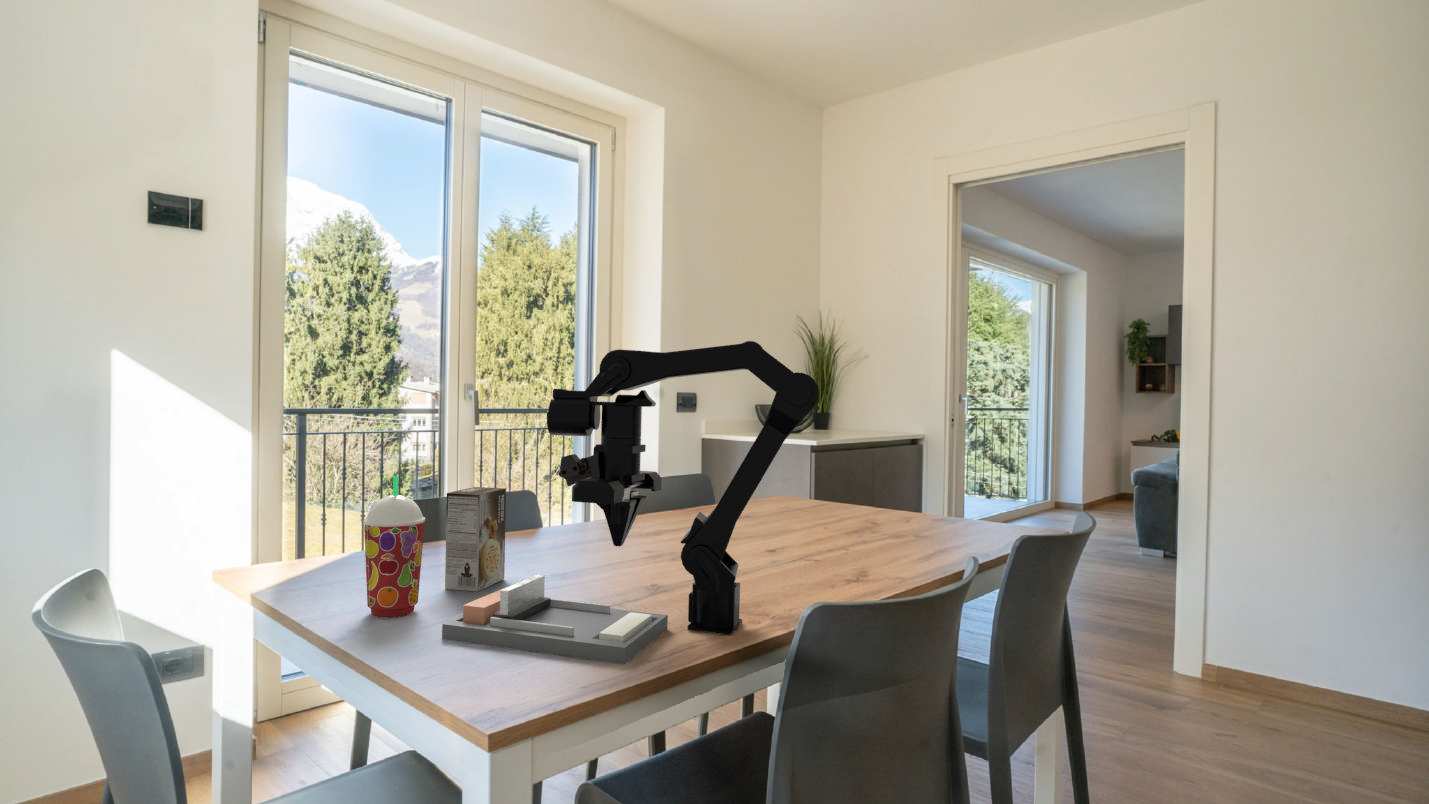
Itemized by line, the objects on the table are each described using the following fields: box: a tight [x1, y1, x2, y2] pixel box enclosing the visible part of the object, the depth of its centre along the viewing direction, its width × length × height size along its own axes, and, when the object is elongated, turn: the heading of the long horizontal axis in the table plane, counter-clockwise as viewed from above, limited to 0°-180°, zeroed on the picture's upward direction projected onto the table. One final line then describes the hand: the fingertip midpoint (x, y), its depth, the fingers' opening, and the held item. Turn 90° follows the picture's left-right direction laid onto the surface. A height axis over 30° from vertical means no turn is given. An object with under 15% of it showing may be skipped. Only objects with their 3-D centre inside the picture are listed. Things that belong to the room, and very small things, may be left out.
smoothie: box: [362, 475, 426, 619], centre depth 111 cm, size 8×8×20 cm
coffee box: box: [444, 486, 507, 593], centre depth 129 cm, size 9×6×16 cm
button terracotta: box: [462, 587, 505, 625], centre depth 106 cm, size 3×10×2 cm, turn 163°
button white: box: [599, 612, 652, 643], centre depth 100 cm, size 3×10×2 cm, turn 163°
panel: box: [441, 598, 669, 665], centre depth 103 cm, size 26×15×3 cm, turn 73°
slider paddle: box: [493, 574, 551, 620], centre depth 105 cm, size 3×10×4 cm, turn 163°
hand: (618, 545), depth 109 cm, fingers closed
